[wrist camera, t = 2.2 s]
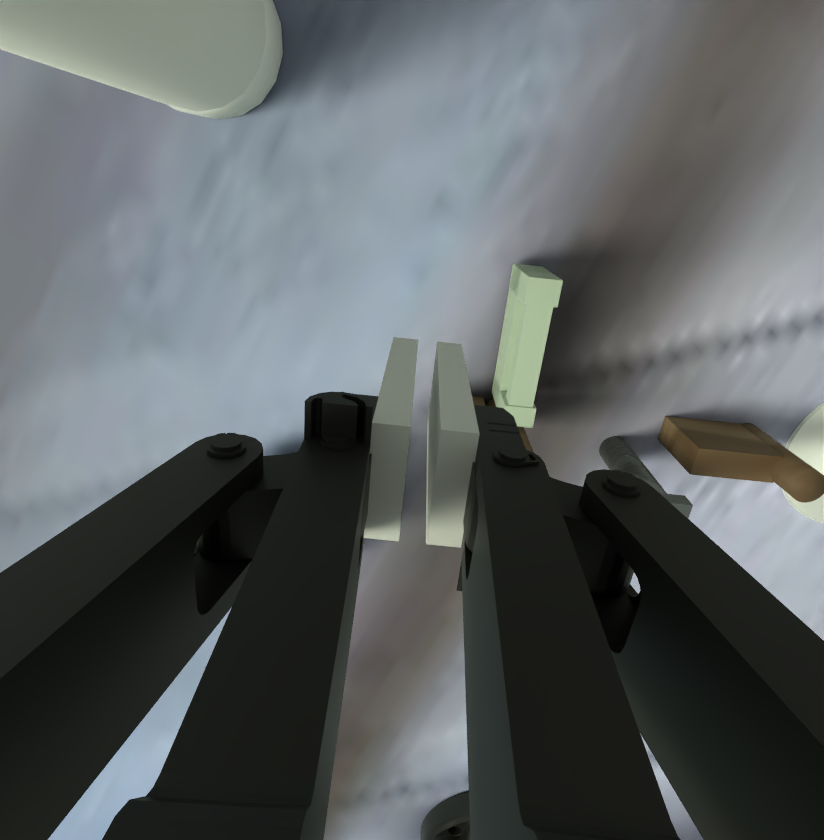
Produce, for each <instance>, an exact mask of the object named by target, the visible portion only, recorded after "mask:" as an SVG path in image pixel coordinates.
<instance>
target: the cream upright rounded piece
mask: <svg viewBox="0 0 824 840" xmlns="http://www.w3.org/2000/svg"><path fill="white" fill-rule="evenodd" d="M785 448H787V449H788V450H789V451H791V452H792V453H794V454H795V455H796V456H798V457H799V458H800V459H802V460H803V461H805V462H806V463H807V464H809V465H810V466H812V467H813V468H814V469H816V470H817V471H819V472H820V473H821V474H823V475H824V402H823V403H822V404H820V405H819V406H818V407H817V408H815V409H814V410H813V411H812V412H811V413H810V414H809V415H807V416H806V417H805V418H804V420H803V421H802V422H801V423H800V424H799V425H798V426H797V428H796V429H795V430H794V432H793V433H792V435H791V436H790V438H789V440H788V442H787V444H786V446H785ZM782 491H783V493H784V495H785V497H786V498H787V500H788V501H789V503H790V504H791V505H792V506H793V507H794V508H795V509H796V510H798V511H799V512H800V513H801V514H803V515H804V516H806V517H808V518H810V519H812V520H814V521H817V522H820V523H824V494H823V495H822V496H821V497H820V498H818V499H817V500H814V501H812V502H806V503H804V502H799V501H797V500H795V499H794V498H793V497H792V496H790V495H789V494H788V493H787V492H786V491H784V490H783V489H782Z"/></svg>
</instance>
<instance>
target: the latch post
mask: <svg viewBox="0 0 824 840" xmlns="http://www.w3.org/2000/svg"><path fill="white" fill-rule="evenodd" d="M599 453H600V456H601V457H602V459H603V460H604V462H605V463H606V465H607V466H608V468H609V470H620V471H622V472H627V473H630V474H632V475H633V476H635V477H637V478H639V479H642V480H643V481H645V482H646V483H648V484H649V485H651V486H652V487H653V488H654V489H655V490H657V491H658V492H659V493H660V494H661V495H662V496H663V497H664V498H665V499H667V500H668V501H669V502H670V503H671V504H672V505H673V506H674V507H675V508H677V509H678V510H679V511H680V512H681V513H682V514H683V515H684V516H685V517H687V518H688V517H689V515H690V512H691V509H692V506H693V505H692V504H691V503H690V501H689V500H688V499H687V498H686V497H685V496H682V495H672V494H667V493H666V492H665V491H664V489H663V488H662V487H661V485H660V484H659V483H658V482H657V480H656V479H655V478H654V477H653V475H652V474H651V473H650V471H649V470H648V469H647V468H646V466H645V465H644V464H643V462H642V461H641V460H640V459H639V457H638V456H637V455H636V454H635V452H634V451H633V450H632V448H631V447H630V446H629V445H628V443H627V442H626V441H625V440H624V439H623V438H621V437H610V438H608V439H606V440H605V441H603V443H602V444H601V446H600V449H599Z"/></svg>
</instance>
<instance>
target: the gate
mask: <svg viewBox="0 0 824 840" xmlns="http://www.w3.org/2000/svg"><path fill="white" fill-rule="evenodd" d="M562 283H563V280H562V279H560V278H559V277H557V276H556V275H554V274H553V273H551V272H550V271H548V270H547V269H545V268H544V267H541V266H532V265H522V264H513V268H512V274H511V280H510V286H509V293H508V299H507V305H506V311H505V317H504V323H503V329H502V335H501V341H500V347H499V353H498V359H497V365H496V370H495V375H494V381H493V387H492V394H493V398H494V401H495V404H496V407H500V408H504V409H505V410H506V411H508V412H509V413H510V414H511V415H513V416H514V419H515V421H516V424H517V426H519V427H529V428H533V424H534V419H535V414H536V407H535V405H534V399H535V394H536V389H537V385H538V380H539V375H540V370H541V365H542V360H543V355H544V350H545V345H546V340H547V335H548V331H549V326H550V321H551V316H552V311H553V307H557V308H558V303H559V298H560V293H561V288H562Z"/></svg>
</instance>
